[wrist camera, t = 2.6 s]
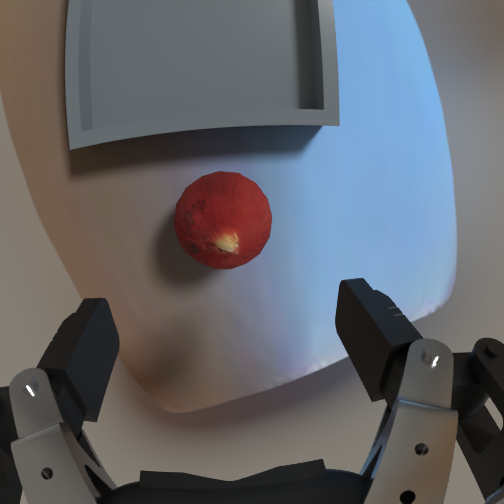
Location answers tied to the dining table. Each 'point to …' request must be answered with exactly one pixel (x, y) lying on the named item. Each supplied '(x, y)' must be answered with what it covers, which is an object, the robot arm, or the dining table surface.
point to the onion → (223, 220)
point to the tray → (197, 66)
